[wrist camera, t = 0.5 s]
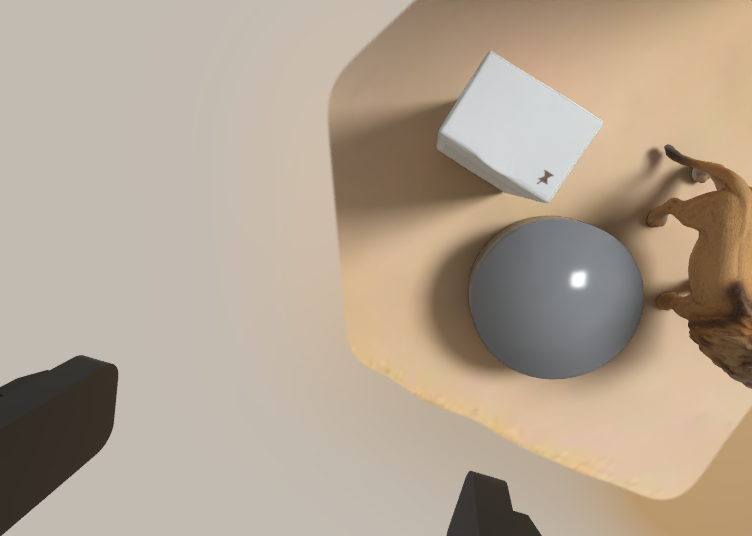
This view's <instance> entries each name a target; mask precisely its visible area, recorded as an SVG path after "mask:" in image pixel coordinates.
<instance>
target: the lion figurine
mask: <svg viewBox="0 0 752 536" xmlns="http://www.w3.org/2000/svg"><path fill="white" fill-rule="evenodd" d="M664 148H665V151H666V155H667V156H668V157H669V158H670V159H672V160H673V161H676V162H678V163H680V164H682V165H686V166H689V167H692V168H693V170H692V178H693V180H694V181H697V182H699V183H704V182H705V181H706V180H707V179H709V178H711V179H712V180H713V181H714V184H715V186H716V189H717V191H712V192H709V193H705V194H702V195H699V196H697V197H694V198H692V199H689V200H687V201H682V200H680V199H678V198H671V199H669V200H668V201H667V202H666V203H664V204H663V205H661V206H659V207H657V208H655V209H654V210H653V211H651V212H650V214H649V216H648V218H647V223H648V224H649V225H650V226H651V227H660V226H664V225H665V224H666V222H667V216H668V214H672V215H674V216H675V217H676V218H677V219H678V220H679V221H680V222H681V223H682V224H683V225H685V226H687V227H691V228H694V229H696V230H698V231H699V238H698V240H697V242H696V244H695V246H694V248H693V250H692V253H691V255H690V259H689V267H688V275H689V282H690V287H691V291H692V294H691V295H687V296H685V297H681V296H678V295H677V294H676V293H675V292H669V293H663V294H662V295H661V296H660V297H658V299H657V301H656V304H657V306H658V307H659V308H661V309H664V310H670V309H673V310H674V311H675V312H676V313H677V314H678V315H679V316H681V317H683V318H685V319H687V320H689V322H688V327H689V329H690V331H689V334H690V336H689V337H690V338H691V339H692V340H693V341H694V342H695V343H697V344H698V345H699V349H700V350H701V351H702V352H703V353H704V354H705V355H706V356H707V357H709V358H710V359H711V360H712V362H713V363H714V364H715V365H717V366H718V367H720V368H722V369H723V371H724V372H726V373H727V374H728V375H729V376H730V377H731V378H733V379H734V380H736V381H739V382H742V383H743V384H744V385H745V386H746V387H748V388H751V389H752V187H749V186H748V185H747V183H746V182H745V181H744V180H743V179H742V178H741V177H740V176H739V175H737V174H736V173H734V172H733V171H731V170H729V169H727V168H725V167H724V166H723V165H721V164H717V163H712V162H705V161H699V160H695V159H692V158H689V157H687V156H684V155H682V154H680V153H679V152H678V151H677V150H676V149H675V148H674V147H673V146H671V145H669V144H668V145H665V147H664Z"/></svg>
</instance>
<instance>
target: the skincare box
mask: <svg viewBox="0 0 752 536" xmlns="http://www.w3.org/2000/svg"><path fill="white" fill-rule="evenodd" d="M602 125H603V121H602V120H600V119H599V118H597V117H596V116H594V115H593V114H591V113H590V112H588V111H587V110H585V109H583V108H582V107H580V106H579V105H577V104H576V103H574V102H573V101H571V100H570V99H568V98H566V97H565V96H563V95H562V94H560V93H558V92H557V91H555V90H553V89H552V88H550V87H548V86H547V85H545V84H543V83H542V82H540V81H538V80H537V79H535V78H533V77H532V76H530V75H529V74H527V73H525V72H524V71H522V70H521V69H519V68H518V67H516V66H514V65H513V64H511V63H510V62H508V61H506V60H505V59H503V58H502V57H500V56H498V55H497V54H495V53H494V52H492V51H490V52H489V53H488V54H487V55H486V57H485V58H484V60H483V61H482V63H481V64H480V66H479V67H478V69H477V70H476V72H475V73H474V75H473V77H472V78H471V80H470V81H469V83H468V84H467V86H466V88H465V89H464V91H463V92H462V94H461V95H460V97H459V98H458V100H457V102H456V103H455V105H454V106H453V108H452V109H451V111H450V113H449V114H448V116H447V117H446V119H445V121H444V122H443V124H442V126H441V127H440V129H439V131H438V139H437V144H436V149H437V150H439V151H440V152H442V153H443V154H445V155H446V156H448V157H449V158H451V159H452V160H454V161H455V162H457V163H459V164H460V165H462V166H463V167H465V168H466V169H468V170H469V171H471V172H473V173H474V174H476V175H477V176H479V177H481V178H482V179H484V180H485V181H487V182H489V183H490V184H492V185H494V186H495V187H497V188H498V189H500V190H501V191H503V192H504V193H508V194H512V195H516V196H520V197H524V198H527V199H531V200H535V201H538V202H544V203H549V202H550V201H551V200H552V198H553V197H554V195H555V194H556V192H557V191H558V189H559V188H560V186H561V185H562V183H563V182H564V180H565V179H566V177H567V176H568V174H569V173H570V172H571V170H572V169H573V167H574V166H575V164H576V163H577V161H578V160H579V158H580V157H581V156H582V154H583V153H584V151H585V150H586V148H587V147H588V145H589V144H590V143H591V141H592V140H593V138H594V137H595V135H596V134H597V132H598V131H599V130H600V128H601V127H602Z"/></svg>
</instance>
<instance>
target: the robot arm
mask: <svg viewBox="0 0 752 536" xmlns="http://www.w3.org/2000/svg"><path fill="white" fill-rule="evenodd" d="M117 382H118V369H117V367H116V366H115V365H114V364H110V363H107V362H104V361H100V360H97V359H93V358H90V357H86V356H83V355H79V356H76V357H74V358H72V359H70V360H68V361H67V362H65V363H63V364H61V365H59V366H57V367H55V368H53V369H52V370H50V371H49V370H45V371H42V372H38V373H35V374H31V375H28V376H24V377H21V378H18V379H15V380H13V381H11V382H9V383H8V384H5V385H4V386H2V387H0V536H1V535H2V534H4V533H5V532H6V531H7V530H8V529H10V528H11V527H12V526H13V525H14V524H15V523H17V522H18V521H19V520H20V519H21V518H22V517H24V516H25V515H26V514H27V513H28V512H29V511H31V510H32V509H33V508H34V507H35V506H37V505H38V504H39V503H40V502H41V501H42V500H44V499H45V498H46V497H47V496H48V495H49V494H51V493H52V492H53V491H54V490H55V489H56V488H58V487H59V486H60V485H61V484H62V483H63V482H65V481H66V480H67V479H68V478H69V477H70V476H72V475H73V474H74V473H75V472H76V471H77V470H79V469H80V468H81V467H82V466H83V465H84V464H85V463H87V462H88V461H89V460H90V459H91V458H93V457H94V456H95V455H96V454H97V453H98V452H99V451H100V450H101V449H102V448H103V446H104V445H105V444H106V442H107V440H108V438H109V436H110V434H111V432H112V429H113V424H114V415H115V405H116V404H115V403H116V394H117ZM447 536H541V534H540V532H539V531H538V529H537V528H536V526H535V525H534V523H533V522H532V521H531V519H530V518H529V516H528V515H526V514H522V513H519V512H515V511H513V509H512V505H511V500H510V495H509V490H508V486H507V483H506V482H505V481H503V480H500V479H497V478H493V477H490V476H486V475H483V474H480V473H476V472H473V471H469V472H468V474H467V476H466V478H465V481H464V484H463V487H462V490H461V493H460V496H459V499H458V502H457V505H456V508H455V511H454V514H453V516H452V519H451V522H450V525H449V528H448V532H447Z"/></svg>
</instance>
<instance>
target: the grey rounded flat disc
mask: <svg viewBox="0 0 752 536" xmlns="http://www.w3.org/2000/svg"><path fill="white" fill-rule="evenodd" d="M468 300H469V305H470V310H471V313H472V317H473V320H474V323H475V326H476V329H477V332H478V334H479V336H480V338H481V340H482V342H483V343H484V344H485V346H486V347H487V349H488V350H489V351H490V352H491V353H492V354H493V355H494V356H495V357H496V358H497V359H498V360H499V361H501V362H502V363H503V364H505V365H506V366H508V367H509V368H511V369H513V370H515V371H517V372H519V373H522V374H525V375H528V376H531V377H536V378H542V379H565V378H571V377H576V376H579V375H583V374H586V373H588V372H591V371H593V370H595V369H597V368H599V367H601V366H603V365H604V364H606V363H607V362H608V361H610V360H611V359H613V358H614V357H615V356H616V355H617V354H618V353H619V352H620V351H621V350H622V349H623V348H624V347H625V346H626V344H627V343H628V342H629V340H630V339H631V337H632V336H633V334H634V332H635V330H636V328H637V326H638V324H639V321H640V318H641V314H642V309H643V303H644V290H643V282H642V278H641V275H640V271H639V269H638V267H637V264H636V262H635V260H634V259H633V257H632V256H631V254H630V253H629V251H628V250H627V249H626V248H625V247H624V246H623V245H622V244H621V243H620V242H619V241H618V240H617V239H616V238H614V237H613V236H612V235H610V234H608V233H607V232H605V231H603V230H601V229H599V228H597V227H595V226H592V225H589V224H586V223H584V222H581V221H578V220H574V219H571V218H567V217H561V216H538V217H533V218H528V219H525V220H522V221H519V222H516V223H514V224H512V225H510V226H508V227H507V228H505V229H504V230H502V231H500V232H499V233H498V234H497V235H495V236H494V237H493V238H492V239H491V240H490V241H489V242H488V243H487V244H486V245H485V246H484V248H483V249H482V251H481V252H480V254H479V255H478V257H477V259H476V261H475V263H474V265H473V268H472V270H471V274H470V278H469V284H468Z"/></svg>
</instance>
